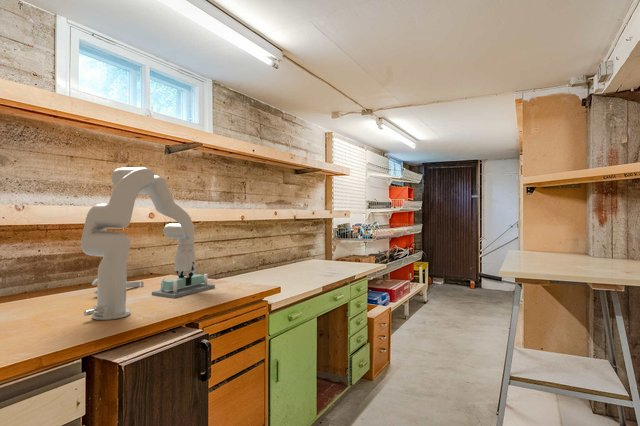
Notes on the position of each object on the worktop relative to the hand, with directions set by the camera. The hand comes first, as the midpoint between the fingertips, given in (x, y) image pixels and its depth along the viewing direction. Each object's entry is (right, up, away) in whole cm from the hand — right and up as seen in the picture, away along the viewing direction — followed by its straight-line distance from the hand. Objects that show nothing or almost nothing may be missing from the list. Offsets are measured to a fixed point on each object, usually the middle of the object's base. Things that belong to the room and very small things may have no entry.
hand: (185, 284), depth 186 cm
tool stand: (0, -3, 0) cm, 3 cm away
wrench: (-31, -3, -3) cm, 31 cm away
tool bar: (0, -1, 0) cm, 1 cm away
